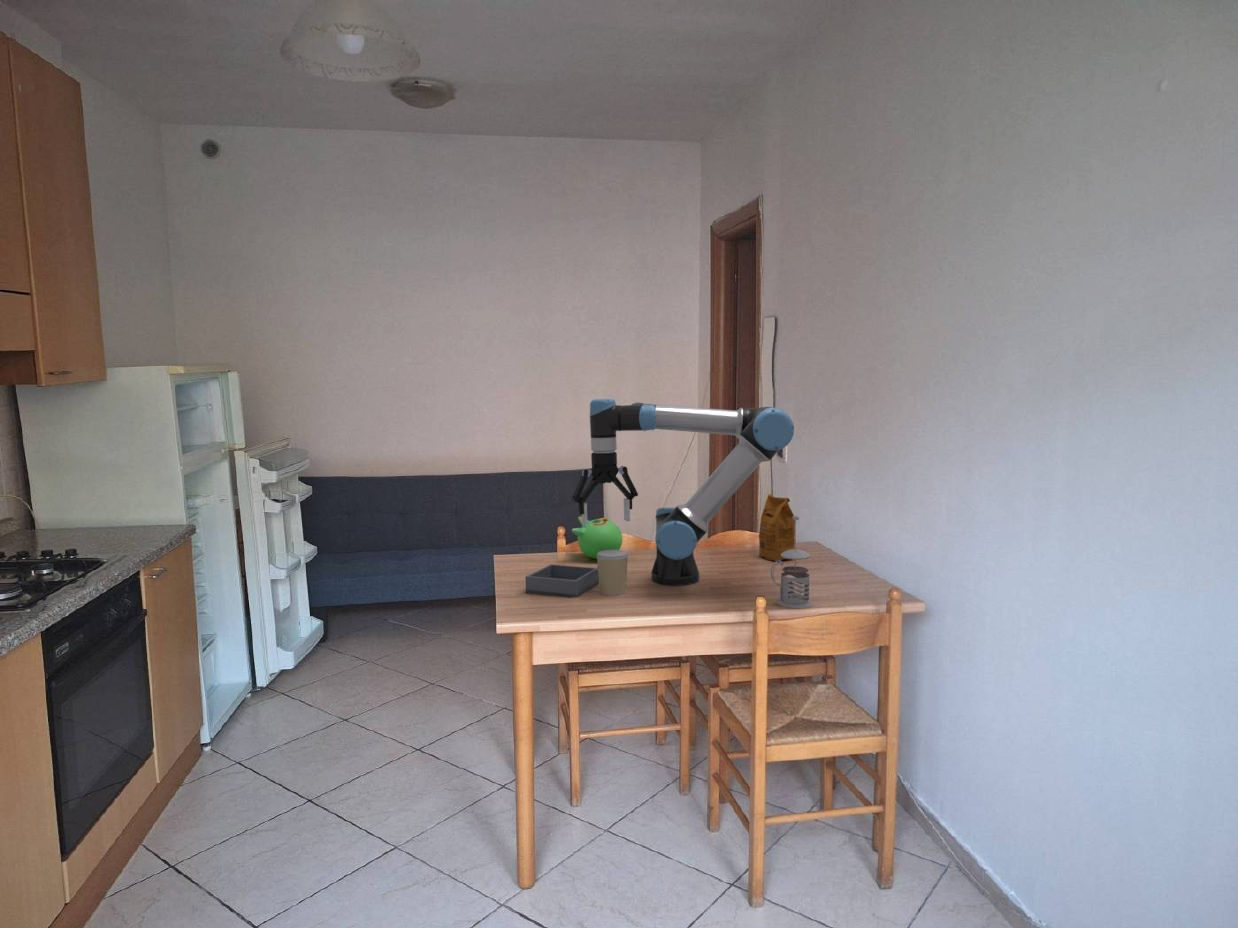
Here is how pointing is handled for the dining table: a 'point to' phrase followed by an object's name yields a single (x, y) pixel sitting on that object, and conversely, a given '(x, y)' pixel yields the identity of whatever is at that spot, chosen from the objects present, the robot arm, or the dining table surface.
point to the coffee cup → (612, 572)
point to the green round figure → (598, 536)
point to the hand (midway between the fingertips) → (606, 522)
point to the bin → (562, 580)
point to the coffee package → (776, 528)
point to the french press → (794, 579)
